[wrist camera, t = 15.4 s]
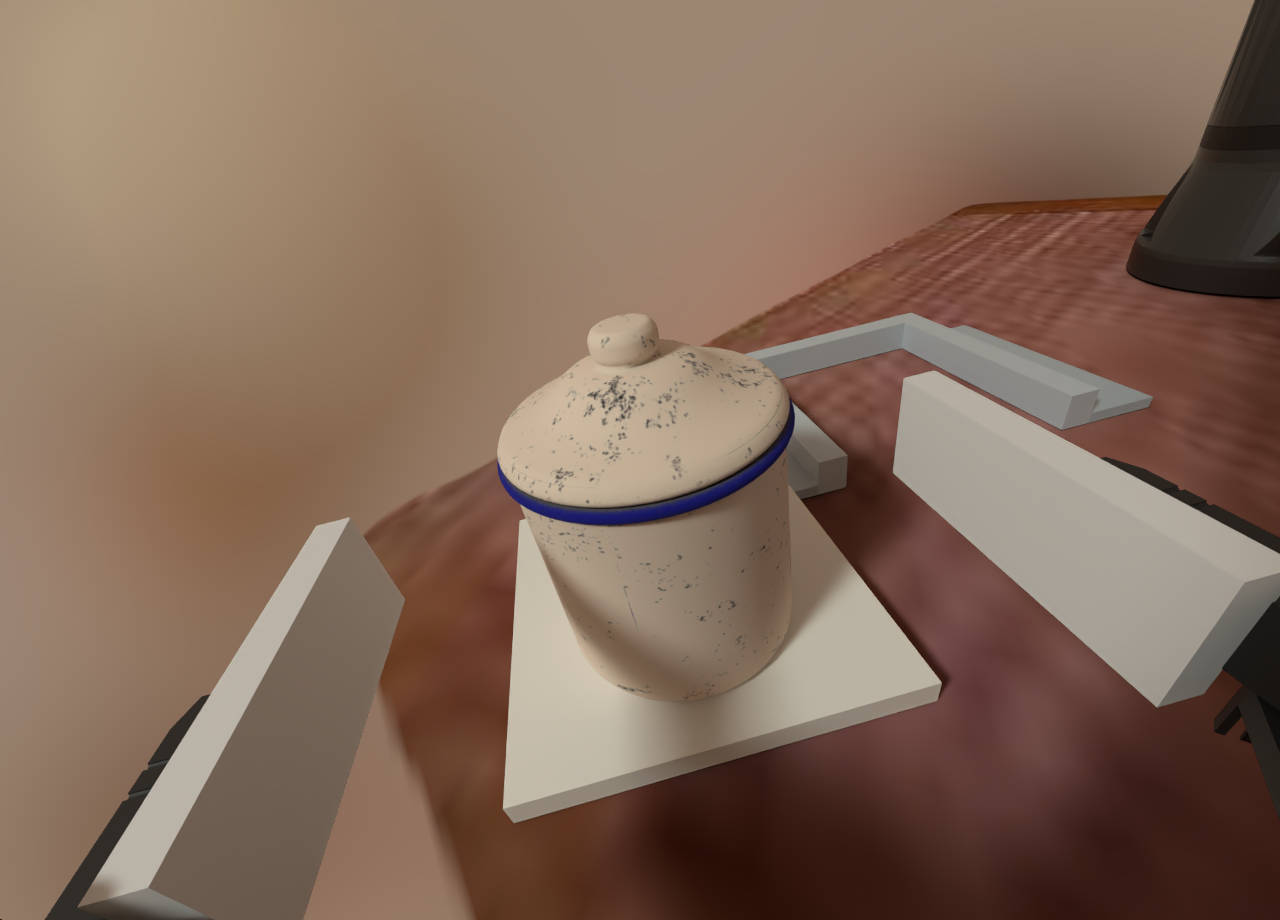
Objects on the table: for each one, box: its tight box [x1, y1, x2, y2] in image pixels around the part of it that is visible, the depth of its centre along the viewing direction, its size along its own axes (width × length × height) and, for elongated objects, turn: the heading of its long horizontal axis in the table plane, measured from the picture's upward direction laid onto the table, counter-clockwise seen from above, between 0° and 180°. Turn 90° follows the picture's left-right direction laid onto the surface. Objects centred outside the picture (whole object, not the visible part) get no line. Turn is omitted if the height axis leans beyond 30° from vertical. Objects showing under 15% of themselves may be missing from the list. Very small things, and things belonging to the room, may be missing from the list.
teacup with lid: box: [497, 314, 795, 702], centre depth 18 cm, size 12×9×12 cm
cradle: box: [744, 313, 1153, 499], centre depth 31 cm, size 22×15×2 cm
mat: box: [503, 484, 942, 823], centre depth 21 cm, size 14×14×1 cm
